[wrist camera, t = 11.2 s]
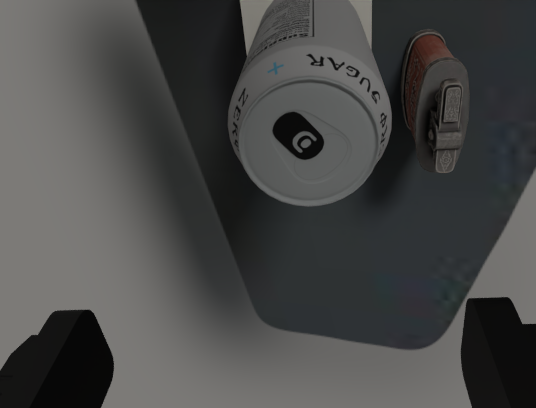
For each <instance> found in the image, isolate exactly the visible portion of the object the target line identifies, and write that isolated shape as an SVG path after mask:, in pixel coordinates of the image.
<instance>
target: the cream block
mask: <svg viewBox="0 0 536 408" xmlns="http://www.w3.org/2000/svg"><path fill="white" fill-rule="evenodd" d="M273 1H274V0H240V4H241V12H242V21H243V29H244V37H245V45H246V53H247V56H248V53H249V51H250V48H251V45H252V43H253V40H254V37H255V35H256V32H257V30H258V27H259V24H260V22H261V19H262V17H263V15H264V13H265V11H266V9H267V8H268V7H269V6H270V4H271V3H272V2H273ZM349 1H350V3H351V4H352V5H353V7H354V8H355V10H356V11H357V14H358V16H359V18H360V21H361V24H362V26H363V29H364V32H365V34H366V37H367V40H368V43H369V45H370V48H371V29H372V0H349Z"/></svg>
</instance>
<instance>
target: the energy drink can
mask: <svg viewBox="0 0 536 408" xmlns="http://www.w3.org/2000/svg"><path fill="white" fill-rule="evenodd" d="M391 127H392V112H391V106H390V101H389V97H388V94H387V92H386V89H385V86H384V83H383V81H382V78H381V75H380V73H379V70H378V67H377V64H376V62H375V59H374V56H373V54H372V51H371V48H370V45H369V43H368V40H367V37H366V34H365V32H364V29H363V26H362V24H361V21H360V18H359V16H358V14H357V11H356V10H355V8H354V7H353V5H352V4H351V3H350V1H349V0H274V1H273V2H272V3H271V4H270V6H269V7H268V8H267V9H266V11H265V13H264V15H263V17H262V19H261V22H260V24H259V27H258V30H257V32H256V35H255V37H254V40H253V43H252V45H251V48H250V51H249V53H248V56H247V58H246V61H245V64H244V66H243V69H242V71H241V74H240V77H239V79H238V82H237V85H236V87H235V90H234V92H233V95H232V99H231V102H230V106H229V110H228V130H229V136H230V141H231V143H232V146H233V149H234V151H235V154H236V155H237V157H238V158H239V160H240V162H241V163H242V165H243V167H244V169H245V171H246V172H247V174H248V175H249V177H250V179H251V180H252V181H253V182H254V183H255V184H256V185H257V186H258V187H259V188H260V189H261V190H262V191H264V192H265V193H266V194H268V195H269V196H271V197H273V198H275V199H277V200H279V201H281V202H285V203H288V204H292V205H298V206H320V205H325V204H330V203H333V202H336V201H338V200H340V199H343V198H345V197H346V196H348V195H350V194H351V193H353V192H354V191H356V190H357V189H358V188H359V187H360V186H361V185H362V184H363V183H364V182H365V181H366V179H367V178H368V177H369V175H370V174H371V173H372V171H373V169H374V167H375V165H376V164H377V162H378V161H379V159H380V158H381V157H382V155H383V153H384V150H385V148H386V146H387V144H388V141H389V137H390V133H391Z"/></svg>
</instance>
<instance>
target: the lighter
mask: <svg viewBox="0 0 536 408" xmlns="http://www.w3.org/2000/svg"><path fill="white" fill-rule="evenodd" d="M469 97H470V95H469V84H468V73H467V70H466V68H465V66H464V65H463V64H462V63H461V62H460V61H459V60H458V59H455V58H454V57H453V56H452V54H451V53H450V51H449V50H448V49H447V47H446V43H445V40H444V38H443V37H442V36H441V35H440V34H439V33H438V32H437V31H434V30H429V29H426V30H421V31H419V32H417V33H415V34H414V35H413V36H412V37H411V38H410V40H409V42H408V46H407V50H406V54H405V58H404V62H403V69H402V78H401V102H402V108H403V114H404V120H405V122H406V125H407V127H408V128H409V129H410V130H411V132H412V135H413V137H414V140H415V145H416V151H417V157H418V160H419V163H420V165H421V167H422V168H423V169H424V170H426V171H429V172H435V173H438V172H439V173H447V172H451V171H452V170H453V169H454V165H455V163H456V162H457V160H458V157H459V154H460V151H461V148H462V145H463V142H464V138H465V133H466V128H467V123H468V118H469Z"/></svg>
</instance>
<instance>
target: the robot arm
mask: <svg viewBox="0 0 536 408" xmlns="http://www.w3.org/2000/svg"><path fill="white" fill-rule="evenodd" d="M461 364H462V371H463V377H464V381H465V384H466V388H467V391H468V395H469V399H470V402H471V405H472V408H536V324H522V322H521V320H520V318H519V316H518V313H517V311H516V309H515V307H514V305H513V303H512V301H511V300H510V299H509V298H508V297H501V298H469V299H468V300H467V303H466V311H465V319H464V328H463V336H462V345H461ZM113 371H114V361H113V356H112V353H111V351H110V348H109V346H108V344H107V342H106V339H105V337H104V335H103V333H102V330H101V328H100V326H99V324H98V321H97V319H96V317H95V315H94V313H93V312H92V311H91V310H64V311H55V312H53V313H52V314H51V315H50V316H49V318H48V320H47V321H46V323H45V324H44V326H43V328H42V329H41V331H40V333H39V334H38V335H31V336H30V337H29V338H28V339H27V340H26V341H25V342H24V343H23V344H21V345H20V346H19V347H18V348H17V349H16V350H15V351H14V352H13V353H12V354H11V355H10V356H9V358H8V360H7V361H6V363H5V364H4V366H3V367H2V369H1V370H0V408H101V406H102V404H103V401H104V399H105V396H106V394H107V391H108V389H109V387H110V384H111V381H112V378H113Z"/></svg>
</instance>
